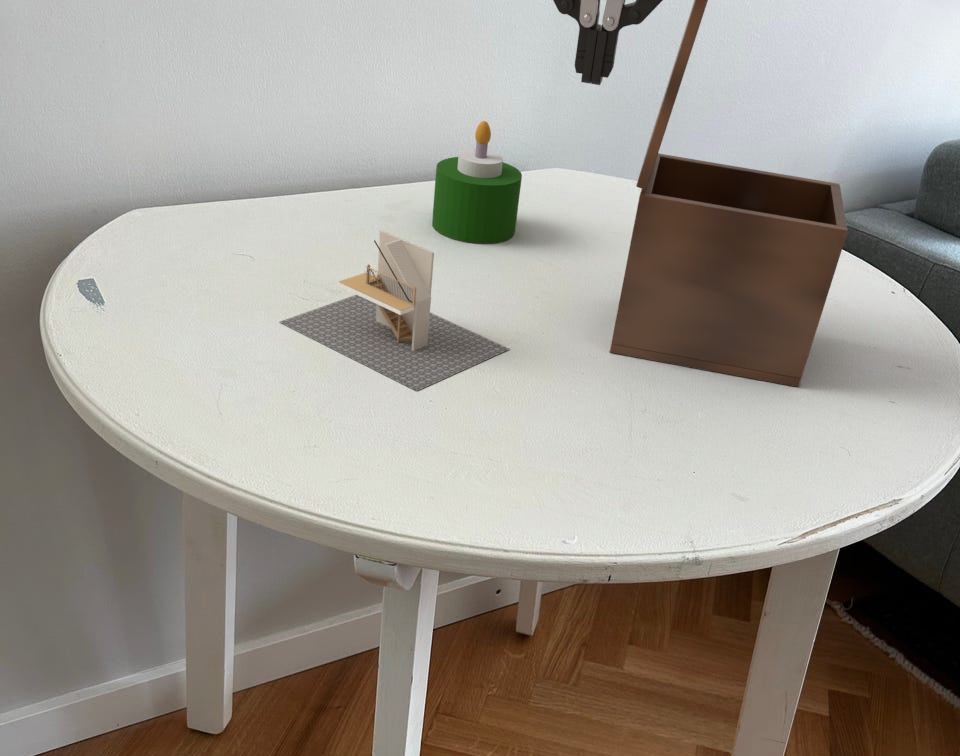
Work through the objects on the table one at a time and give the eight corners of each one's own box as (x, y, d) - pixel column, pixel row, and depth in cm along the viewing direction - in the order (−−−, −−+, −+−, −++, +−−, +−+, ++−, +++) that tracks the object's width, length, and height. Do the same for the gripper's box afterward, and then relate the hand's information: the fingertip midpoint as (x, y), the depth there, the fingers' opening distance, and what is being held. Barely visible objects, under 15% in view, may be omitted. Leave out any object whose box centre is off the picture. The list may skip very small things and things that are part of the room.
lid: (731, -80, 82) (720, -83, 82) (727, -59, 73) (715, -62, 73) (657, 147, 92) (648, 144, 92) (646, 190, 83) (635, 187, 83)
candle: (442, 207, 114) (451, 103, 108) (521, 221, 113) (534, 117, 107) (423, 234, 108) (431, 124, 101) (506, 249, 107) (519, 140, 101)
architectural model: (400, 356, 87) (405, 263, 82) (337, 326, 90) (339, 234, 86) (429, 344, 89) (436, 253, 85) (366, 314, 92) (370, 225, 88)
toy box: (795, 330, 99) (839, 183, 91) (798, 387, 90) (848, 230, 82) (623, 299, 101) (651, 151, 92) (609, 352, 92) (639, 194, 84)
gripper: (734, -192, 76) (680, 83, 87) (543, -217, 77) (514, 58, 88) (731, -187, 70) (674, 107, 81) (526, -214, 71) (497, 79, 82)
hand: (591, 81), depth 85 cm, fingers closed
